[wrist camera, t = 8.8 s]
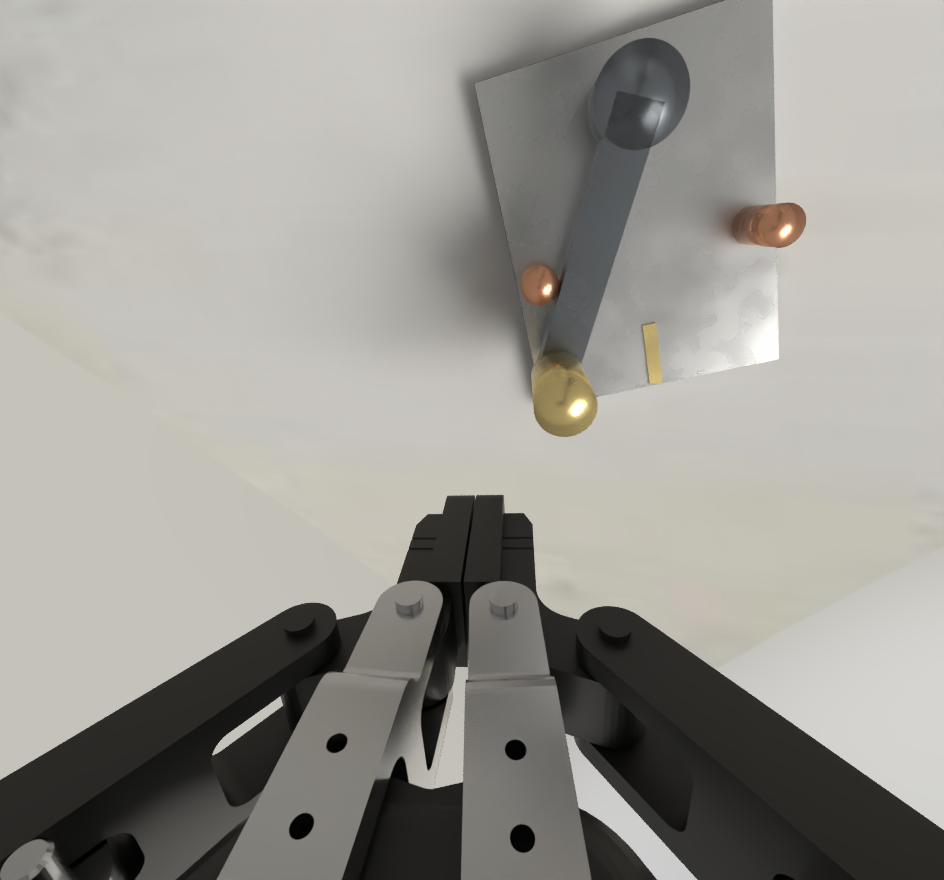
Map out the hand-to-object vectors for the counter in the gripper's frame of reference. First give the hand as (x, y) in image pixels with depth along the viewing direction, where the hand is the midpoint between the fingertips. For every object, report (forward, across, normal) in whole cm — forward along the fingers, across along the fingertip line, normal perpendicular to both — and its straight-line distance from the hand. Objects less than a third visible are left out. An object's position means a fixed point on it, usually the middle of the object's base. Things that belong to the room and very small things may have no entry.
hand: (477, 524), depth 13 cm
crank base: (+17, -7, -7) cm, 20 cm away
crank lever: (+15, -5, -6) cm, 17 cm away
